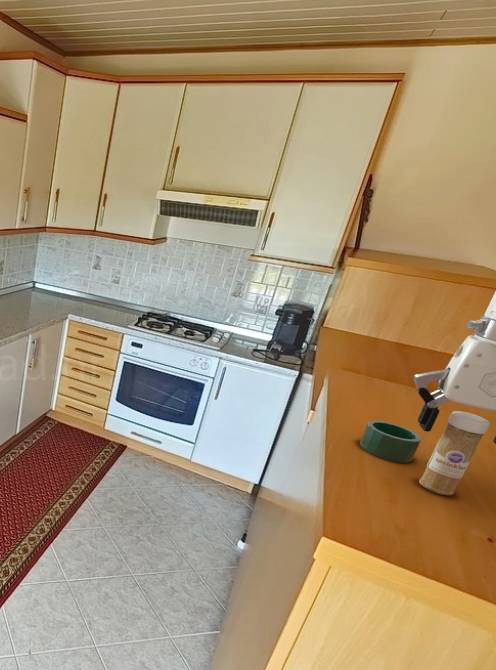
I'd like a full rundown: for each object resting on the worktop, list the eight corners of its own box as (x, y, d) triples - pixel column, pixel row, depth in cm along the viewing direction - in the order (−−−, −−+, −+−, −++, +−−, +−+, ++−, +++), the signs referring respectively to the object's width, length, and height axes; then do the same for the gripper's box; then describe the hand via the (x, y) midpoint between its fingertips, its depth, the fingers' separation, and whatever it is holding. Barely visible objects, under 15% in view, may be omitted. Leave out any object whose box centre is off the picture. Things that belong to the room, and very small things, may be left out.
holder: (405, 449, 94) (415, 428, 93) (416, 467, 88) (427, 445, 86) (356, 436, 98) (364, 416, 96) (363, 453, 91) (372, 432, 89)
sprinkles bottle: (425, 491, 80) (461, 418, 75) (413, 477, 84) (446, 407, 79) (459, 499, 79) (498, 425, 74) (445, 485, 83) (481, 414, 78)
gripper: (446, 327, 72) (399, 429, 78) (610, 354, 65) (545, 465, 71) (431, 317, 79) (389, 413, 85) (579, 341, 71) (522, 444, 77)
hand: (460, 437), depth 78 cm, fingers open, 9 cm apart
